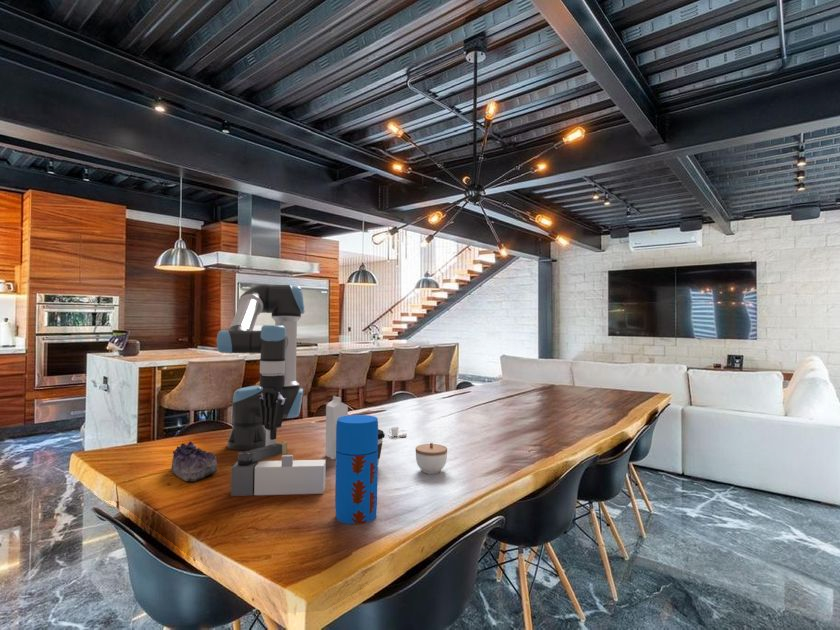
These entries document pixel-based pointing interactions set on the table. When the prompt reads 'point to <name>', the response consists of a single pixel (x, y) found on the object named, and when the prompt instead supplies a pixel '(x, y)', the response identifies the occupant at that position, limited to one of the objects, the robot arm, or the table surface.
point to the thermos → (356, 468)
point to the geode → (193, 462)
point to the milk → (333, 424)
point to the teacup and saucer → (396, 432)
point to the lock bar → (261, 453)
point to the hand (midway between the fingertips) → (270, 449)
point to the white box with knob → (279, 477)
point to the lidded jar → (431, 457)
